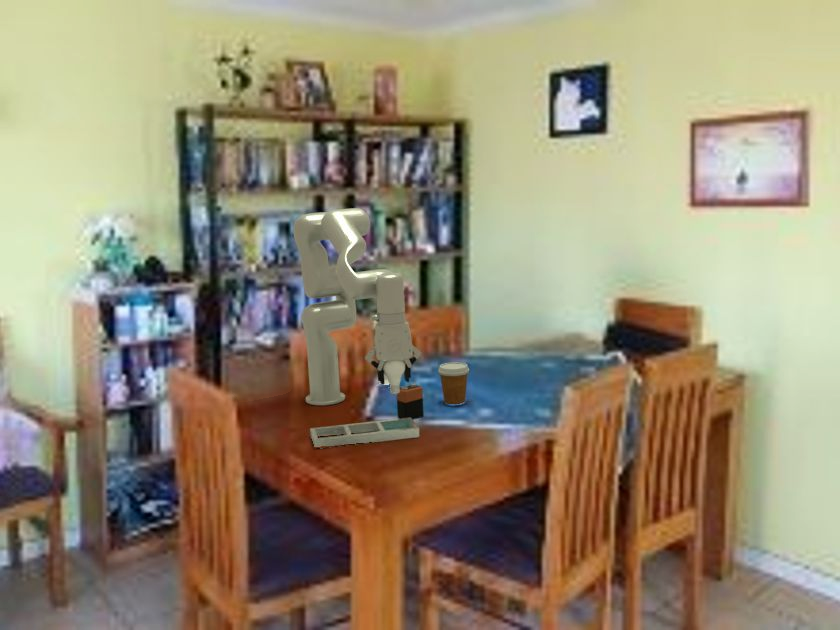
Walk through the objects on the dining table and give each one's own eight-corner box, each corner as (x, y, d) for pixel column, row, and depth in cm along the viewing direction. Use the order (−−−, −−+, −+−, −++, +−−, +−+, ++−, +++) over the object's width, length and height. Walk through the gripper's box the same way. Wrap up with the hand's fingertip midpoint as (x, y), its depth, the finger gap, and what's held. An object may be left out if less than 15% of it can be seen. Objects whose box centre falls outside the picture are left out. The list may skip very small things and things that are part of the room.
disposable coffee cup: (439, 408, 261) (438, 370, 259) (439, 399, 271) (437, 362, 268) (471, 407, 261) (470, 368, 259) (469, 398, 271) (468, 361, 268)
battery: (424, 416, 254) (422, 383, 252) (405, 421, 250) (404, 388, 248) (415, 413, 258) (413, 381, 256) (397, 418, 254) (395, 385, 252)
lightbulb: (395, 389, 242) (393, 351, 240) (411, 393, 238) (409, 355, 236) (378, 394, 238) (377, 356, 236) (394, 398, 233) (392, 359, 231)
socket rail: (310, 437, 240) (310, 428, 239) (411, 425, 246) (410, 417, 246) (314, 449, 230) (314, 440, 230) (419, 437, 236) (418, 428, 236)
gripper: (362, 323, 228) (365, 388, 232) (425, 318, 232) (428, 382, 235) (357, 318, 236) (361, 381, 239) (419, 313, 239) (421, 375, 243)
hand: (394, 381), depth 237 cm, fingers closed on lightbulb, 6 cm apart
